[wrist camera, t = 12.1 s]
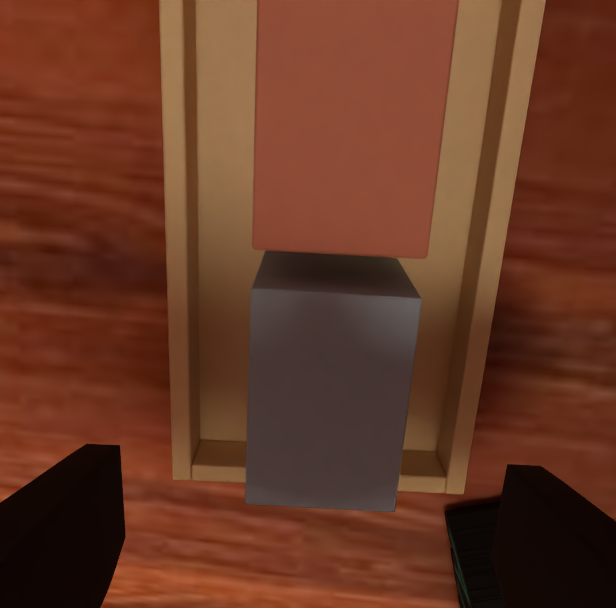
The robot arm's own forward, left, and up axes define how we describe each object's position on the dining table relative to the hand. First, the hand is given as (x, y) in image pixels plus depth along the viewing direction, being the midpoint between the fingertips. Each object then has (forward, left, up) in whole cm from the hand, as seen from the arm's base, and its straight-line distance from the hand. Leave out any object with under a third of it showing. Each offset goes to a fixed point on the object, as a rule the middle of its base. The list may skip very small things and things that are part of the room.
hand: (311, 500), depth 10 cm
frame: (0, +3, -8) cm, 9 cm away
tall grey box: (0, 0, -8) cm, 8 cm away
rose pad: (0, +7, -8) cm, 10 cm away
